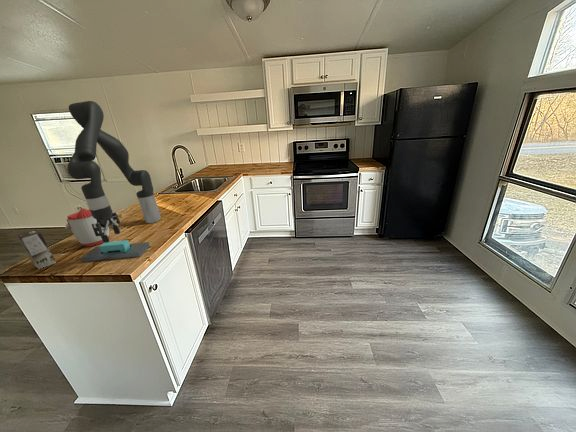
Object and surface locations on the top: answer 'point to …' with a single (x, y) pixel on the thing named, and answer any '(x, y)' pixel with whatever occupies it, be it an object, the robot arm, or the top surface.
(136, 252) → the grey board with holes
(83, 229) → the citrus juicer
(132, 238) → the top surface
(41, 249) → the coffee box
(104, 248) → the teal rectangular block
